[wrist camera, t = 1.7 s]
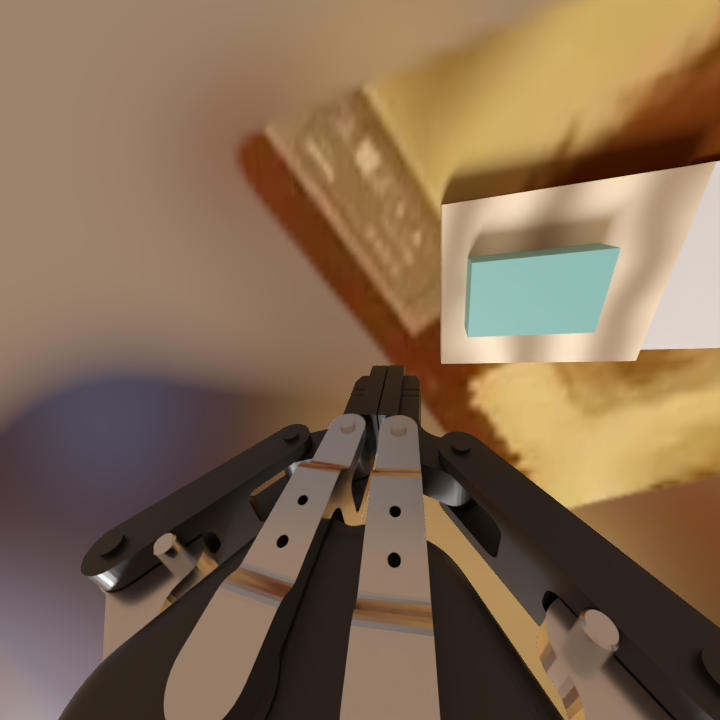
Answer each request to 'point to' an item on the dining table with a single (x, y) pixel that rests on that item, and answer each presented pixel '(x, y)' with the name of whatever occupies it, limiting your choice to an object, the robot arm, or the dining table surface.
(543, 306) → the teal rectangular block
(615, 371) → the dining table surface
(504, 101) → the dining table surface
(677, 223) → the cream flat block
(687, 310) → the mat
